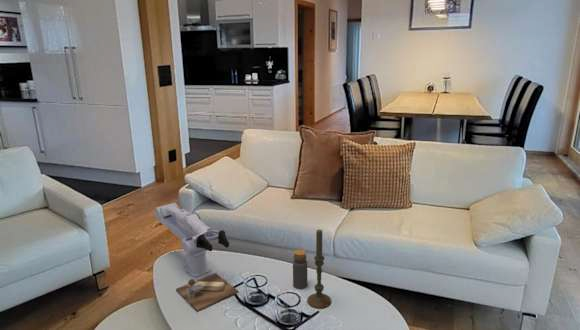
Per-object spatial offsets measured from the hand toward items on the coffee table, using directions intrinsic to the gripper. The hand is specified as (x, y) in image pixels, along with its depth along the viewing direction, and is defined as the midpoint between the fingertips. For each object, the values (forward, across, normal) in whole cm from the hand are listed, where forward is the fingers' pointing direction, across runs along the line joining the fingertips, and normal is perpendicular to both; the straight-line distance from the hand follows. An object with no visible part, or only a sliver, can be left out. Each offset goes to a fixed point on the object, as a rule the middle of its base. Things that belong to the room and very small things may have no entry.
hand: (219, 247), depth 151 cm
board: (0, -2, +20) cm, 20 cm away
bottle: (+21, +27, +12) cm, 37 cm away
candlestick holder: (+34, +25, +10) cm, 43 cm away
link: (-1, -2, +19) cm, 19 cm away
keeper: (+1, -8, +20) cm, 21 cm away
